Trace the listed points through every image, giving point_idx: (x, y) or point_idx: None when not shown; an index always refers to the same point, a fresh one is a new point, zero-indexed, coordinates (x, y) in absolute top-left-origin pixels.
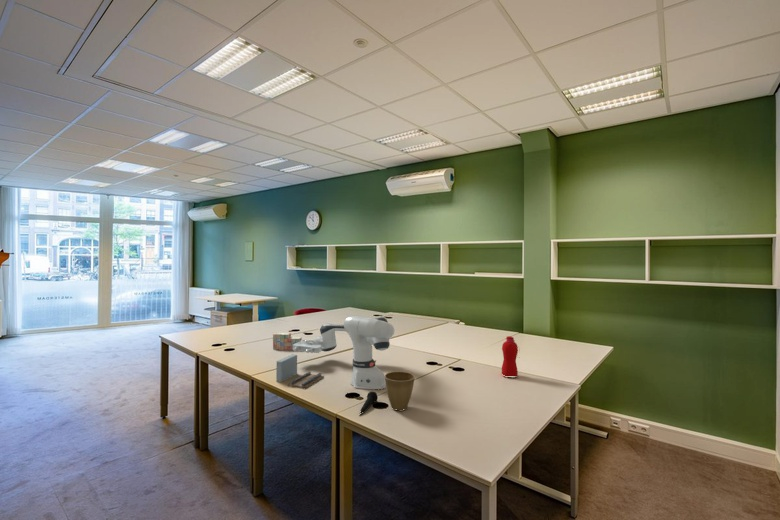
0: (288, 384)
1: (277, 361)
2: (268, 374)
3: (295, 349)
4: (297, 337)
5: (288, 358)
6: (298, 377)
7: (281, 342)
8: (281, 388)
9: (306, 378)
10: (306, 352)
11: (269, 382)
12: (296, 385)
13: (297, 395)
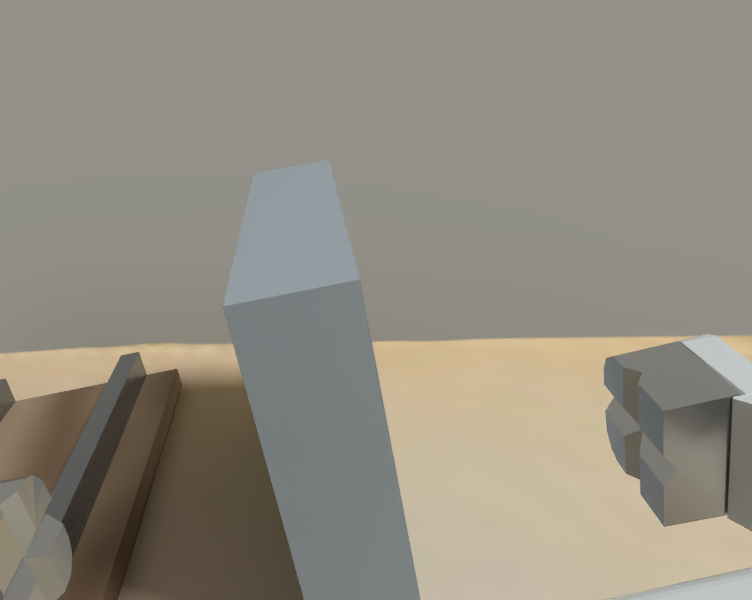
0: (168, 371)
1: (315, 163)
2: None
3: (614, 376)
4: None
5: (255, 214)
6: (102, 430)
7: None
8: (207, 347)
9: None
10: (62, 569)
11: (409, 345)
12: (75, 389)
13: (16, 353)
